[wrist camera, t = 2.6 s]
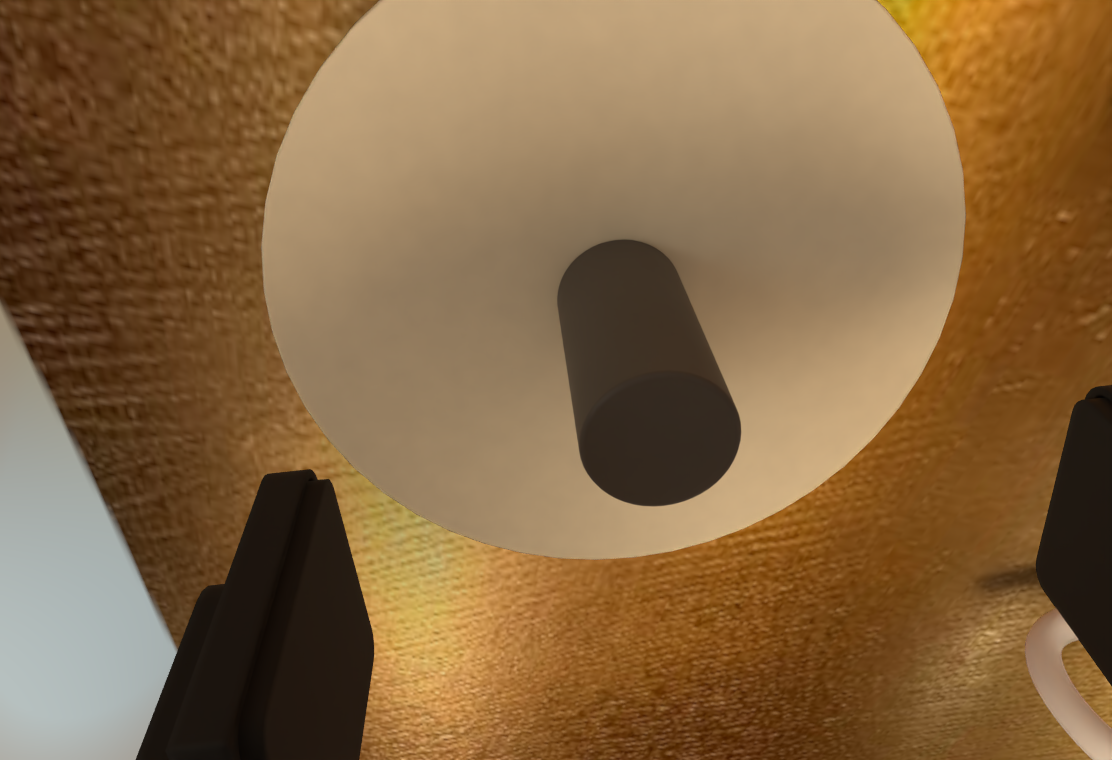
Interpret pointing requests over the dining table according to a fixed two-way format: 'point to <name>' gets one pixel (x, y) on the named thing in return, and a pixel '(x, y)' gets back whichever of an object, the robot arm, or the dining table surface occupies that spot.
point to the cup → (1064, 686)
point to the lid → (611, 258)
